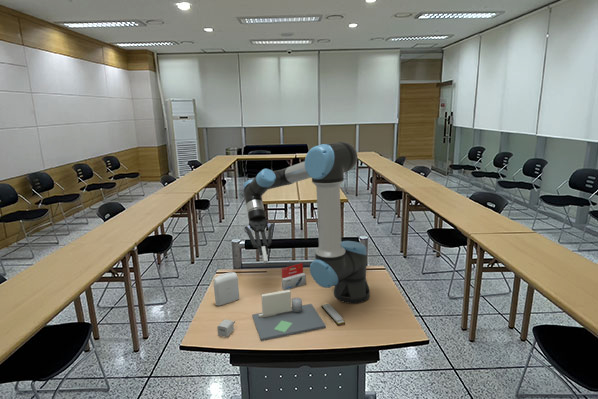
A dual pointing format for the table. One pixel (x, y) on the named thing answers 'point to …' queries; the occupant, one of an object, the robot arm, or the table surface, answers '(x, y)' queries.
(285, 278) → the ink cartridge box
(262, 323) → the gray rectangular board
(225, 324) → the usb wall charger
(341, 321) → the harmonica
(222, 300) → the photo printer
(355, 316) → the table surface
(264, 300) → the cream slab with knob
